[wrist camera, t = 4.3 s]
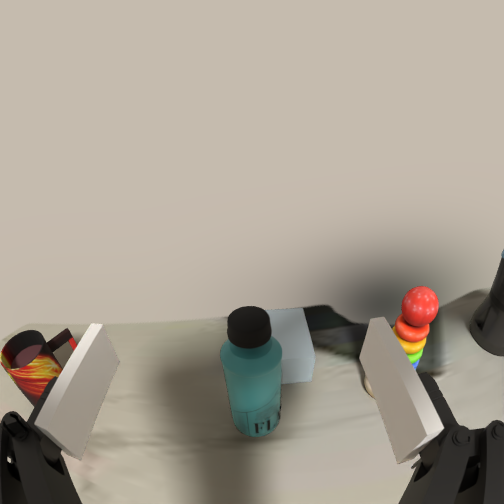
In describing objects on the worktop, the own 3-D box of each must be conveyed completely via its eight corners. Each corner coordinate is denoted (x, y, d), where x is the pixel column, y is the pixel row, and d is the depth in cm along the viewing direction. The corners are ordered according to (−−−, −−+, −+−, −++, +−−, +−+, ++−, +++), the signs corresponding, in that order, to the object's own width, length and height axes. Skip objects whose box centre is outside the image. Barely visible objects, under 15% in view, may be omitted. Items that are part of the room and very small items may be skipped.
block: (311, 381, 39) (315, 356, 36) (235, 385, 39) (231, 361, 36) (300, 332, 50) (302, 307, 47) (237, 336, 50) (234, 311, 47)
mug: (92, 368, 40) (66, 318, 35) (63, 424, 28) (23, 376, 23) (58, 360, 41) (32, 313, 36) (28, 408, 28) (-9, 361, 23)
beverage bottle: (253, 450, 28) (243, 354, 20) (223, 420, 33) (198, 314, 24) (289, 424, 32) (301, 317, 23) (259, 398, 37) (253, 288, 28)
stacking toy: (354, 391, 36) (385, 293, 28) (374, 361, 41) (402, 266, 33) (397, 411, 31) (446, 314, 23) (413, 376, 36) (453, 282, 28)
